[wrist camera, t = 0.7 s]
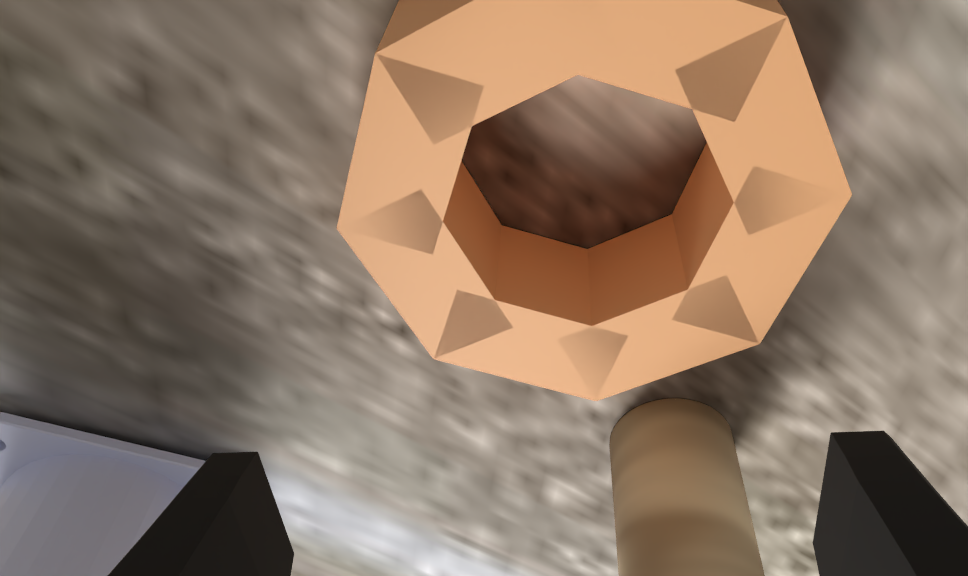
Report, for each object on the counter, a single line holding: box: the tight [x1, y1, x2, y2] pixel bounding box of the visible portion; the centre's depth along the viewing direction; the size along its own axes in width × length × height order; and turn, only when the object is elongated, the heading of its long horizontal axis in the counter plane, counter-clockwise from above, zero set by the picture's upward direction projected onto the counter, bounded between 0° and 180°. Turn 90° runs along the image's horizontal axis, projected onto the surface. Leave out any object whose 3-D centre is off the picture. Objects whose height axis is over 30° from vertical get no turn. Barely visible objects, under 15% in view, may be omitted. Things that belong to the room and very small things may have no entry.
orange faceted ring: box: [337, 0, 852, 401], centre depth 18 cm, size 9×9×3 cm
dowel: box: [610, 398, 765, 576], centre depth 22 cm, size 3×3×8 cm
